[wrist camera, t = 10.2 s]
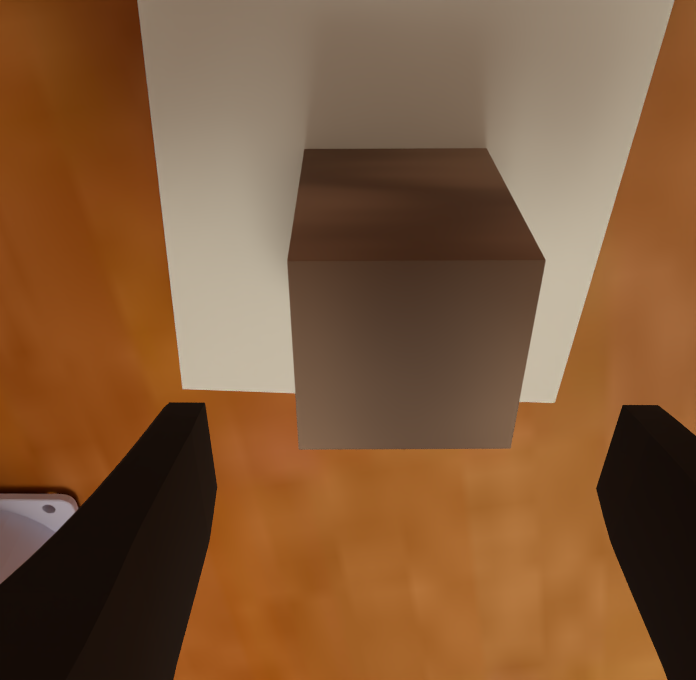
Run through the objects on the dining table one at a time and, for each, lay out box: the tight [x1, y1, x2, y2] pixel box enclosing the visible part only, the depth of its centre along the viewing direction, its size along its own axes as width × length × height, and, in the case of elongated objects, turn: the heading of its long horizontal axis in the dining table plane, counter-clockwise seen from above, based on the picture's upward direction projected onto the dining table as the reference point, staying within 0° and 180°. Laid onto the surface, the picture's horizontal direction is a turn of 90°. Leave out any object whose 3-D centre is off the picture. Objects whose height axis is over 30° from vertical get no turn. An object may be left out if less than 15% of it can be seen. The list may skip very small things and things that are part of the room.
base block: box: [137, 0, 674, 403], centre depth 19 cm, size 12×12×3 cm
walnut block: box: [287, 148, 546, 449], centre depth 16 cm, size 5×5×6 cm
